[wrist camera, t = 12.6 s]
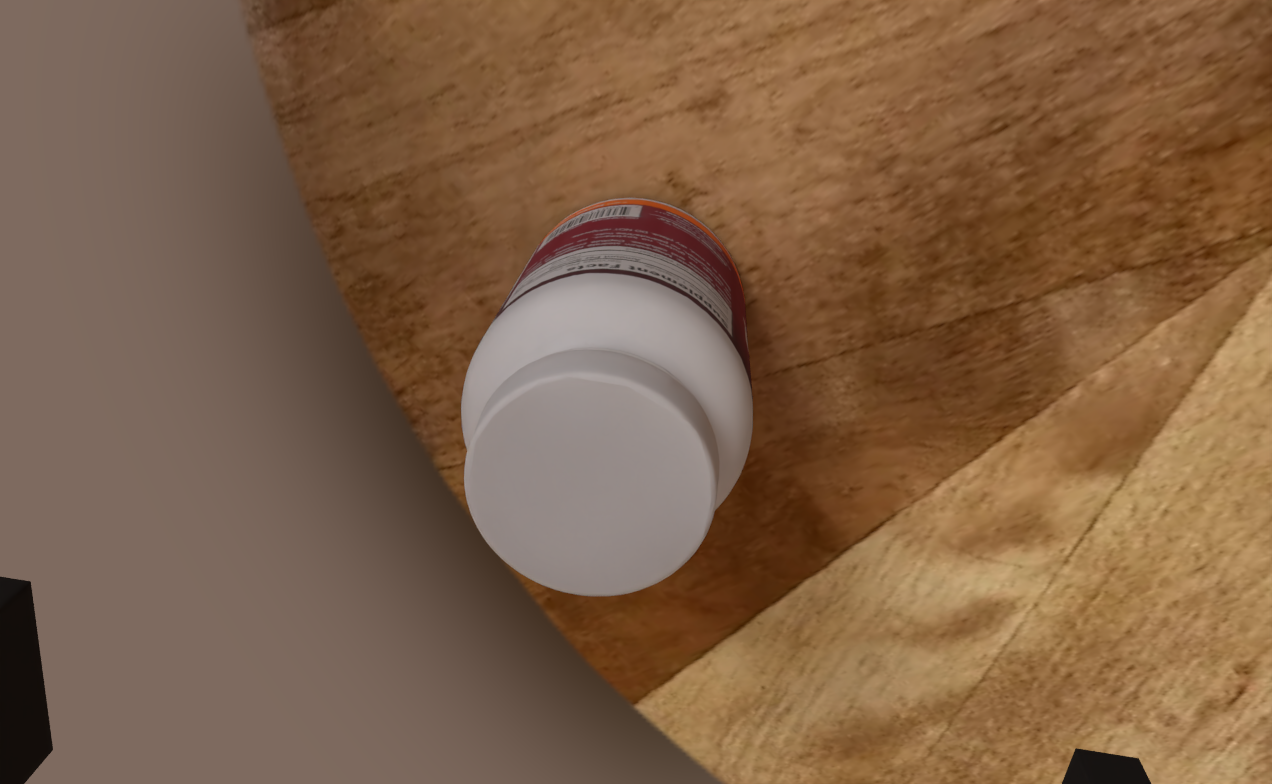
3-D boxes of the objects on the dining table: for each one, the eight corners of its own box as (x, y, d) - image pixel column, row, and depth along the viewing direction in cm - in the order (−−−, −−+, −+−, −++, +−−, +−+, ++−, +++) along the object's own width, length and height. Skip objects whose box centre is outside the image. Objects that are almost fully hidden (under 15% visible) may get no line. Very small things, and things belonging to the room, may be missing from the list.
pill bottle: (672, 439, 30) (646, 685, 20) (487, 335, 30) (365, 539, 19) (790, 265, 28) (826, 447, 18) (592, 146, 27) (514, 268, 17)
